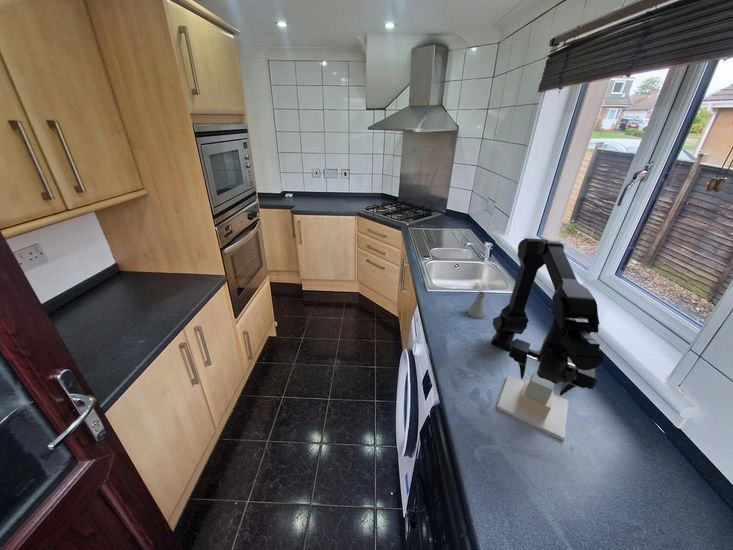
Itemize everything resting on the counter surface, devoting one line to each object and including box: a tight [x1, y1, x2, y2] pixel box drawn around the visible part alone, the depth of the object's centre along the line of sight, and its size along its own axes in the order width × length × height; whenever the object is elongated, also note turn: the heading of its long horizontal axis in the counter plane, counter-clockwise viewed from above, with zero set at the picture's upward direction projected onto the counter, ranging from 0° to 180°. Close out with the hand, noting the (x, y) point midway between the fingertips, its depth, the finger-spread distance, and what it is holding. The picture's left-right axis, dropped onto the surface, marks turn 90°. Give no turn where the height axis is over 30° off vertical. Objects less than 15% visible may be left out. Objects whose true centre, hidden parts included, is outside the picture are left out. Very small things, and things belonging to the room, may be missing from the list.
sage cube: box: [526, 369, 555, 404], centre depth 79 cm, size 5×5×5 cm
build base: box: [496, 374, 569, 442], centre depth 82 cm, size 14×16×5 cm
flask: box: [466, 290, 487, 319], centre depth 120 cm, size 7×7×10 cm
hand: (540, 385), depth 79 cm, fingers open, 9 cm apart
